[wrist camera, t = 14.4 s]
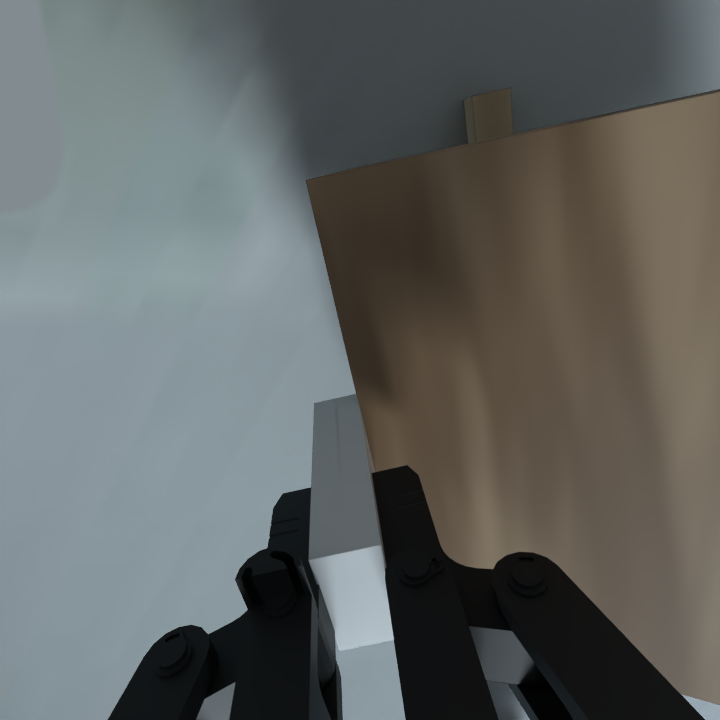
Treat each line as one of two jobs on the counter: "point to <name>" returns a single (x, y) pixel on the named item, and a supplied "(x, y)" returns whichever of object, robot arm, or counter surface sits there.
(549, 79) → the counter surface
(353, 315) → the footstool
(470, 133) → the oak batten
